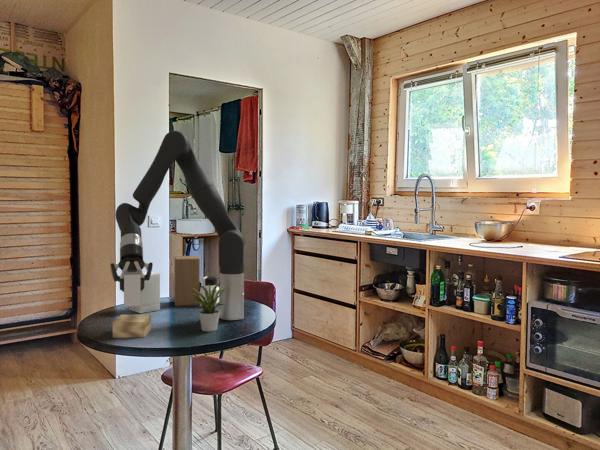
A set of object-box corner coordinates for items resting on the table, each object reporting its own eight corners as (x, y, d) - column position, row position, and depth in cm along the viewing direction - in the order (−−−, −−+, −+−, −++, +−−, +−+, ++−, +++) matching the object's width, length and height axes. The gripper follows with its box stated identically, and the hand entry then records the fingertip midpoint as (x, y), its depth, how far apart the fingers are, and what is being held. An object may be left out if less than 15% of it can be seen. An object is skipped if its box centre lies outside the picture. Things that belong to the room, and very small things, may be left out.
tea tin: (139, 302, 159) (140, 269, 158) (140, 305, 154) (140, 272, 153) (123, 303, 157) (123, 270, 156) (123, 306, 152) (123, 272, 151)
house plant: (228, 322, 172) (228, 277, 171) (237, 332, 159) (237, 284, 158) (188, 325, 167) (189, 279, 166) (194, 335, 154) (195, 286, 153)
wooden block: (174, 301, 205) (174, 256, 204) (197, 300, 208) (197, 255, 207) (175, 306, 196) (175, 258, 195) (199, 305, 199) (199, 258, 198)
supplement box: (160, 310, 188) (160, 273, 188) (139, 314, 182) (139, 275, 181) (149, 306, 195) (149, 270, 194) (128, 310, 188) (128, 273, 187)
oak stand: (151, 328, 161) (151, 314, 161) (144, 337, 151) (144, 321, 151) (121, 329, 160) (120, 314, 160) (112, 337, 150) (112, 322, 150)
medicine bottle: (219, 302, 204) (219, 275, 203) (216, 306, 197) (217, 278, 196) (202, 302, 203) (202, 275, 203) (199, 306, 196) (199, 278, 196)
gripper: (109, 242, 159) (108, 284, 148) (153, 242, 164) (155, 282, 153) (109, 256, 164) (108, 297, 153) (152, 255, 169) (154, 295, 159)
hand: (132, 289), depth 153 cm, fingers closed on tea tin, 5 cm apart
